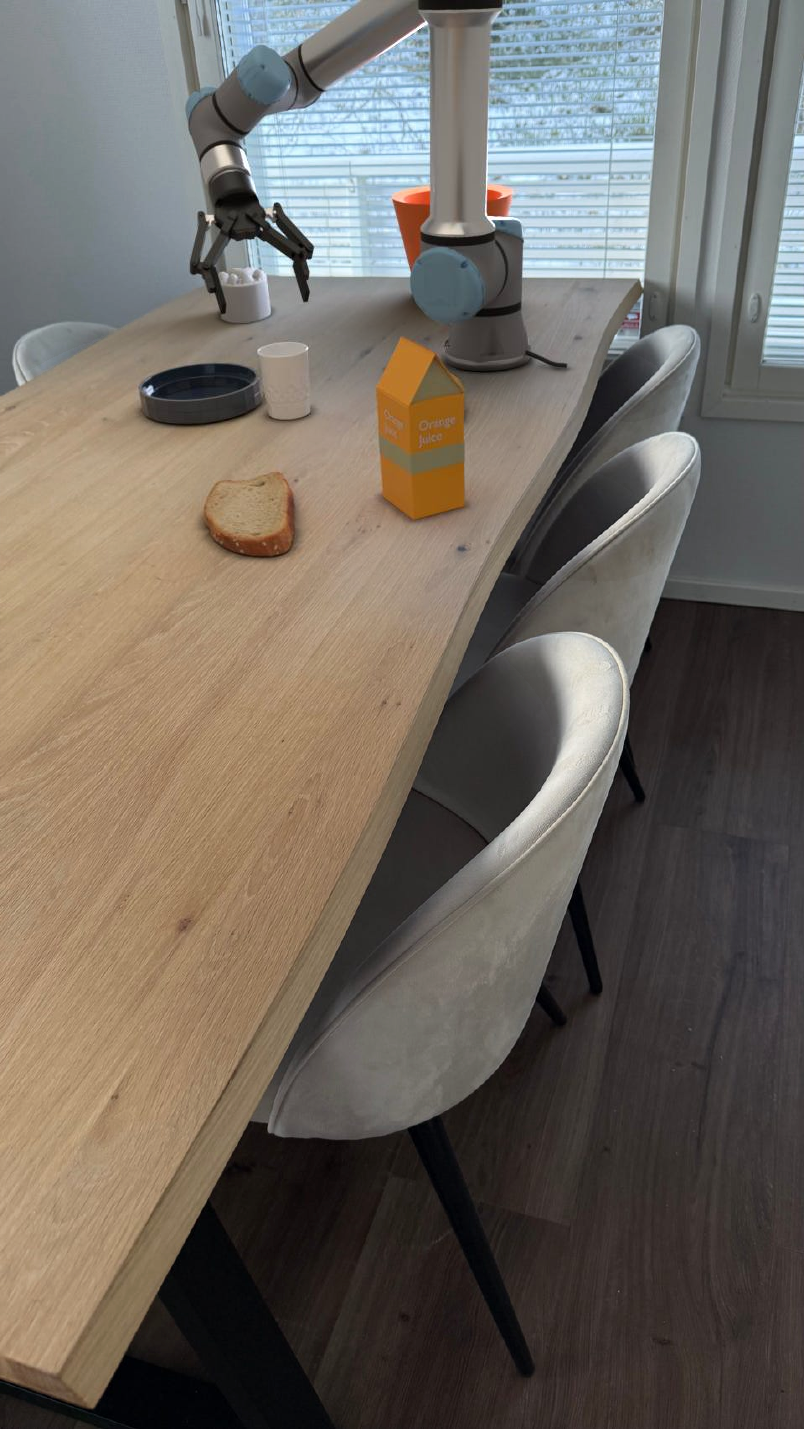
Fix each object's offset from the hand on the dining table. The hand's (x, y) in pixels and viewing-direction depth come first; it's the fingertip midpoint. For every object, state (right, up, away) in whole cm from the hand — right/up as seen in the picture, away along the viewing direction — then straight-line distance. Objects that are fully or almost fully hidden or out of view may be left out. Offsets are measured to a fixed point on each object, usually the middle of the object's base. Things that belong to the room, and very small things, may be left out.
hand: (265, 303), depth 158 cm
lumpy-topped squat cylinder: (-11, +19, +53) cm, 57 cm away
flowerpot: (+33, +25, +58) cm, 71 cm away
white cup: (+4, -17, +2) cm, 18 cm away
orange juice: (+24, -38, -28) cm, 53 cm away
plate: (-11, -14, +7) cm, 19 cm away
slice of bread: (+3, -40, -30) cm, 51 cm away
